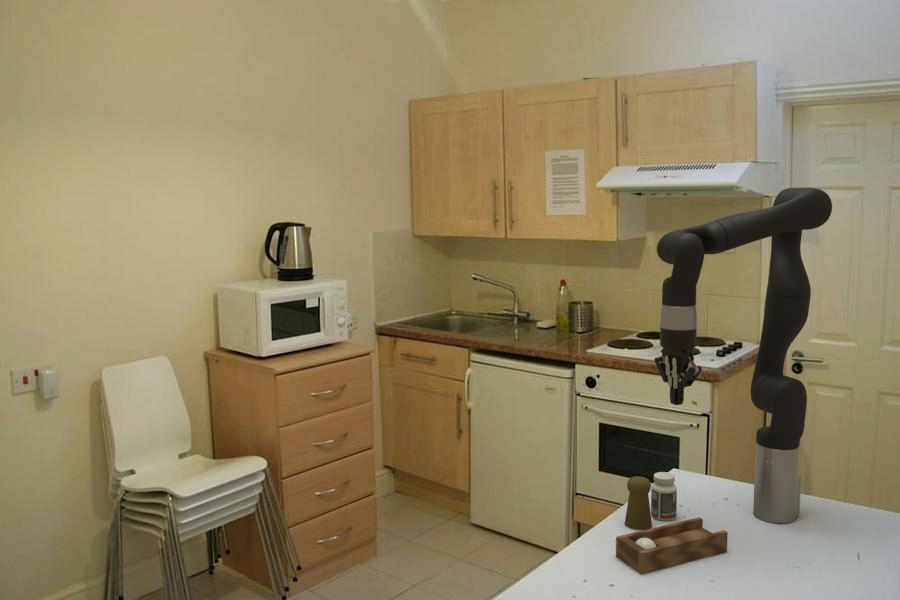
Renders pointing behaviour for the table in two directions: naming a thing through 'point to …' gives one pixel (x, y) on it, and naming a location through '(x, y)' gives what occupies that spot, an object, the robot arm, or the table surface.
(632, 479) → the pepper mill
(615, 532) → the table surface
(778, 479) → the robot arm
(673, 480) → the pill bottle
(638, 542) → the ball
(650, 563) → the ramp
